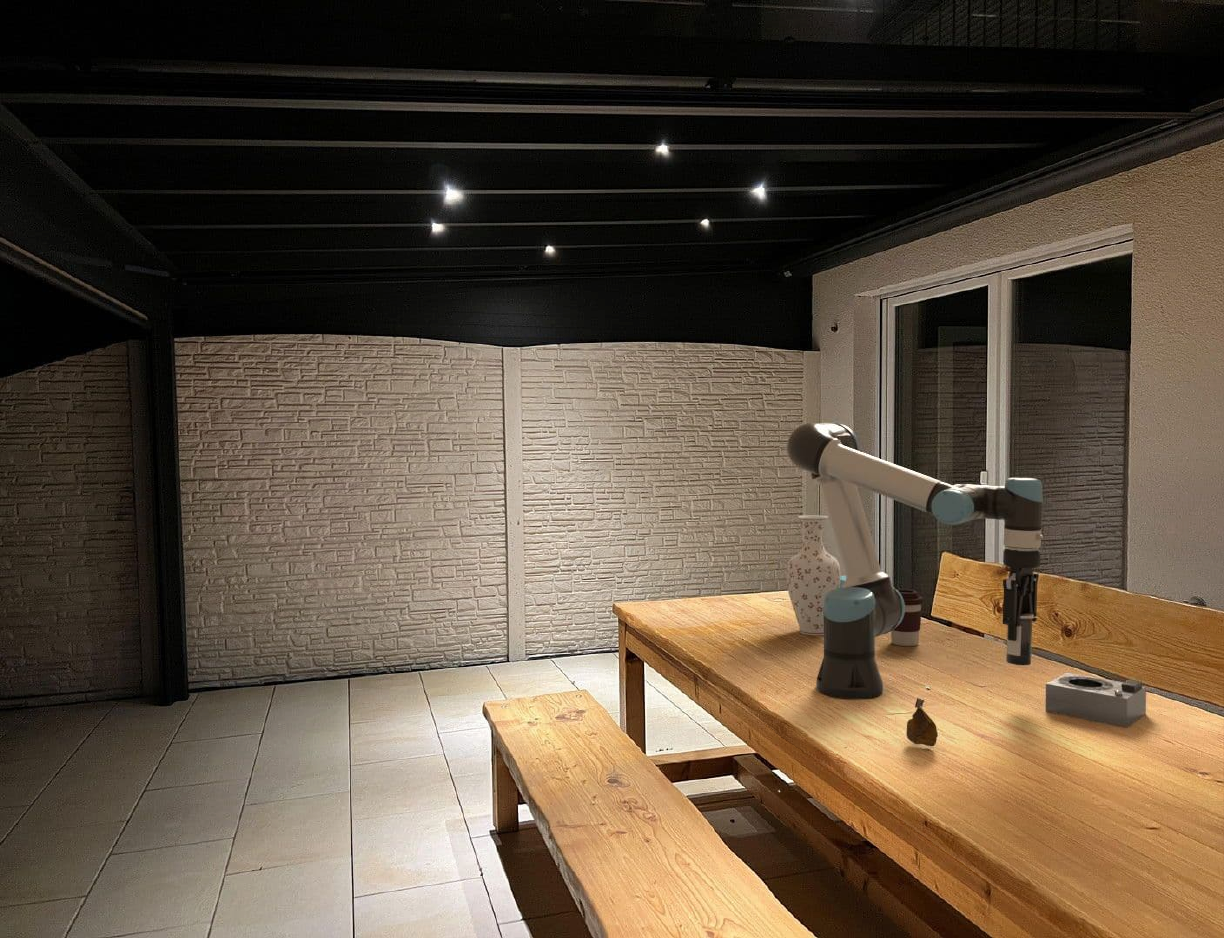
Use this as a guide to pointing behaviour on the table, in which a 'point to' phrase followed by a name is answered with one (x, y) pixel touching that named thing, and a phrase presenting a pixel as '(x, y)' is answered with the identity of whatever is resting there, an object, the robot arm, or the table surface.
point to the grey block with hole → (1097, 699)
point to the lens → (1023, 641)
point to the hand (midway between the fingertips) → (1018, 651)
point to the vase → (812, 577)
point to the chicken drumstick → (921, 727)
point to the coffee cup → (908, 620)
